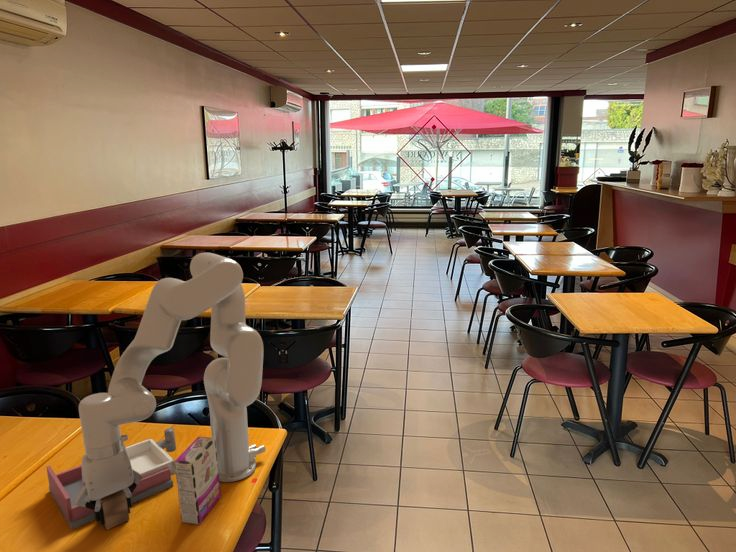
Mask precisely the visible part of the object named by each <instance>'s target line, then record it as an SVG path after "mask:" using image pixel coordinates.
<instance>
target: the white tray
mask: <svg viewBox="0 0 736 552" xmlns="http://www.w3.org/2000/svg"><path fill="white" fill-rule="evenodd" d="M163 433H164V434H163V435H164V439H161V440H159V441H157V442H156V441H155V440H154V439H152V438H147V439H145V440H141V441H140V442H137V443H134V444H132V445H128V446H125V447H126V450H127V452H128V455H129V458H130V462H131V466H132V469H133V470H135V471H137V472H138V473H140V474H141V475H142V476H143V478H144V477H147V476H149V475H151V474H154V473H156V472H159V471H161V470H164V469H166V468H170V474H171V477H172V476H174V475H176V471H175V463H174V461H175V459H173V457H171V456H170V455H169V453H172V452H175V451H176V450H177V447H176V446H177V445H176V437H175V435H176V434H175V429H174V428H172V427H169V428H166V429H164V431H163ZM164 449H165V450H166V451H165V450H164Z"/></svg>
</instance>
